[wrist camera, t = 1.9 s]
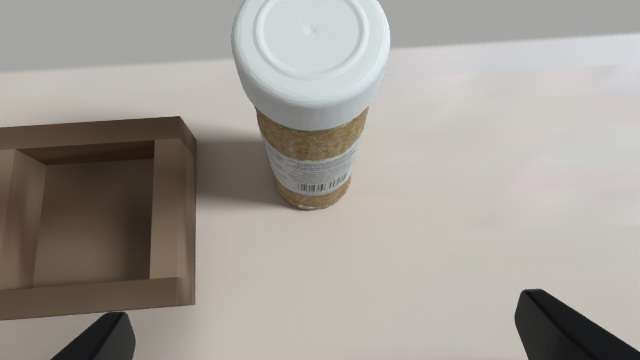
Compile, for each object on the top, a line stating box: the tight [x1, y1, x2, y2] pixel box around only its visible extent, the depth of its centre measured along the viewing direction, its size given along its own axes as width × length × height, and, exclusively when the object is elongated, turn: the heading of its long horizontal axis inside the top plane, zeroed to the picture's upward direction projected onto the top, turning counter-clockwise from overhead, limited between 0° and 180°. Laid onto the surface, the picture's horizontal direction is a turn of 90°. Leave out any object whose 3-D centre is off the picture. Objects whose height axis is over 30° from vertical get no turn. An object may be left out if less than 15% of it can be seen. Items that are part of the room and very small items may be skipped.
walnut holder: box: [0, 116, 196, 320], centre depth 22 cm, size 10×10×3 cm
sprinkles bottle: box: [231, 0, 390, 210], centre depth 18 cm, size 5×4×13 cm
